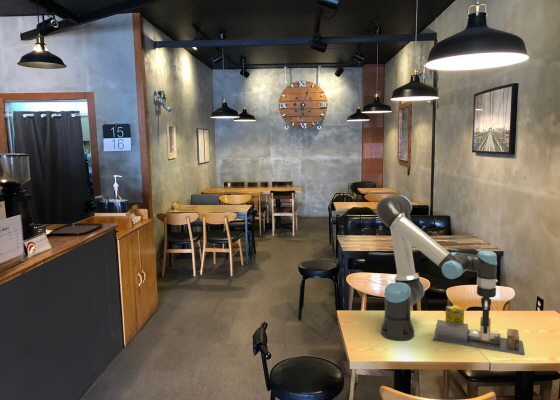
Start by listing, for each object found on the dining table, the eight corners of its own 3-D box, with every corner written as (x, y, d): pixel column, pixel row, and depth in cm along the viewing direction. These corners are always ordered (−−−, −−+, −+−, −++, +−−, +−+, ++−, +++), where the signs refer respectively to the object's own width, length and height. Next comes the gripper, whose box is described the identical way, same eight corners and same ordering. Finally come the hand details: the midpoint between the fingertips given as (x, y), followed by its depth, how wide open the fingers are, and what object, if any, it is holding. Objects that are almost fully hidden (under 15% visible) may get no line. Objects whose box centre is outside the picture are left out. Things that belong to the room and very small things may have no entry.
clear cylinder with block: (450, 336, 191) (451, 316, 190) (451, 332, 195) (451, 313, 194) (500, 344, 182) (500, 323, 181) (499, 340, 186) (500, 319, 185)
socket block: (508, 347, 179) (508, 335, 179) (507, 340, 186) (507, 328, 186) (518, 349, 178) (519, 337, 177) (517, 341, 185) (517, 329, 184)
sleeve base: (433, 340, 191) (433, 326, 190) (435, 330, 201) (436, 317, 201) (524, 355, 175) (525, 340, 174) (522, 343, 186) (522, 329, 185)
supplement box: (453, 333, 198) (453, 310, 197) (445, 328, 204) (445, 306, 202) (463, 331, 200) (464, 309, 198) (455, 326, 205) (455, 304, 204)
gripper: (496, 293, 175) (494, 347, 177) (495, 281, 190) (494, 331, 193) (476, 291, 178) (475, 344, 180) (477, 279, 193) (476, 328, 196)
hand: (485, 337), depth 187 cm, fingers closed on clear cylinder with block, 4 cm apart
